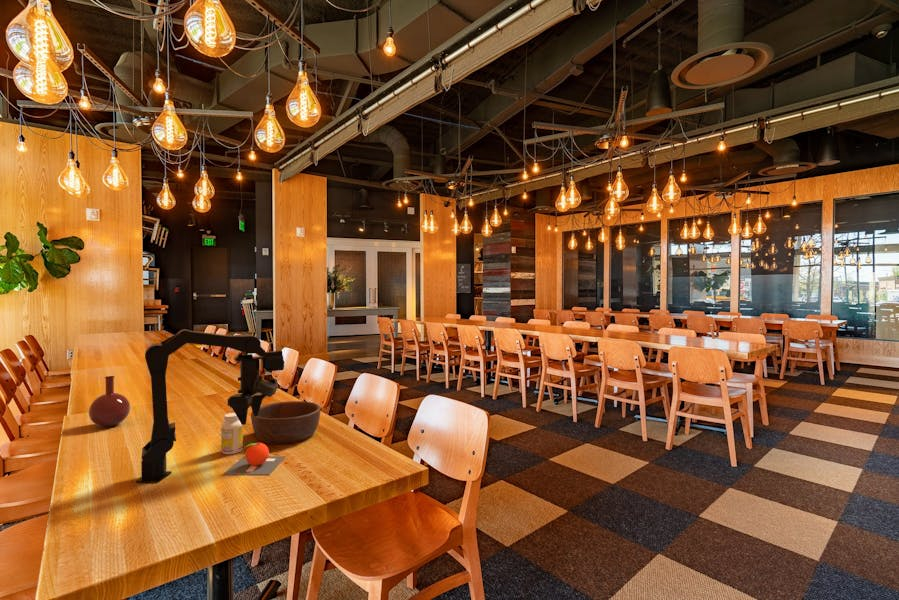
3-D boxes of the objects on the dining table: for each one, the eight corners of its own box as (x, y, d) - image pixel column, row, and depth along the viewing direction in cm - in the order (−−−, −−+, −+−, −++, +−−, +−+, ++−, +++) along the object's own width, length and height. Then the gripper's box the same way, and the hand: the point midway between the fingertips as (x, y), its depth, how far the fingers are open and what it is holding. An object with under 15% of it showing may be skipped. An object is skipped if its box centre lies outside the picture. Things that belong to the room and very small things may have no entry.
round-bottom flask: (88, 425, 174) (87, 376, 173) (128, 419, 182) (128, 372, 182) (89, 433, 164) (88, 381, 163) (131, 426, 173) (131, 377, 172)
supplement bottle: (239, 446, 153) (239, 410, 152) (245, 451, 148) (245, 414, 147) (219, 450, 148) (219, 414, 148) (224, 456, 143) (224, 418, 143)
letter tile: (269, 475, 130) (269, 474, 130) (222, 475, 129) (222, 474, 129) (285, 456, 144) (285, 456, 144) (243, 456, 143) (243, 456, 143)
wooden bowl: (262, 453, 147) (262, 423, 147) (243, 433, 166) (243, 407, 166) (331, 437, 163) (331, 411, 163) (306, 421, 182) (306, 397, 182)
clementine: (239, 470, 132) (239, 447, 132) (243, 461, 139) (243, 440, 138) (267, 468, 134) (267, 445, 134) (270, 459, 141) (270, 438, 141)
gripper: (263, 379, 132) (263, 429, 132) (284, 368, 150) (284, 412, 151) (226, 379, 131) (226, 429, 132) (252, 367, 150) (252, 412, 150)
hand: (250, 420), depth 141 cm, fingers open, 9 cm apart
